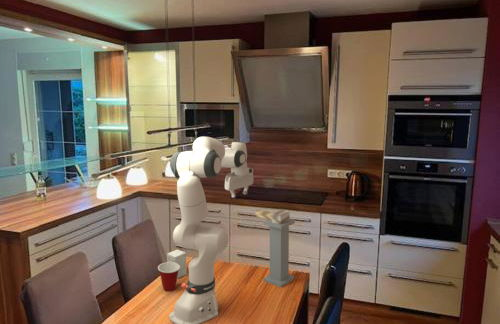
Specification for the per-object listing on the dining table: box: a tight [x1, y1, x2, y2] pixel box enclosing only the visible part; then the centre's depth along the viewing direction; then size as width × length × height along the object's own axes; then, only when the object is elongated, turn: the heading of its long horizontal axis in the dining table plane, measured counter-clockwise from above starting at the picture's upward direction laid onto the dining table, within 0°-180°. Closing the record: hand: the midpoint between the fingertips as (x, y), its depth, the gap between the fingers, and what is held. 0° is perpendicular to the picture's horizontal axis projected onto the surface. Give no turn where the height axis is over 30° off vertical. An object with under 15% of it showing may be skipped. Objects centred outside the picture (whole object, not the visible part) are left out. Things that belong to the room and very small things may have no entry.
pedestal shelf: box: [263, 218, 296, 288], centre depth 189 cm, size 12×11×32 cm
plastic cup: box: [157, 262, 180, 292], centre depth 182 cm, size 11×11×12 cm
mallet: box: [254, 208, 291, 224], centre depth 189 cm, size 18×8×5 cm, turn 50°
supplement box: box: [166, 249, 188, 280], centre depth 197 cm, size 7×7×13 cm
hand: (239, 195), depth 202 cm, fingers open, 8 cm apart
